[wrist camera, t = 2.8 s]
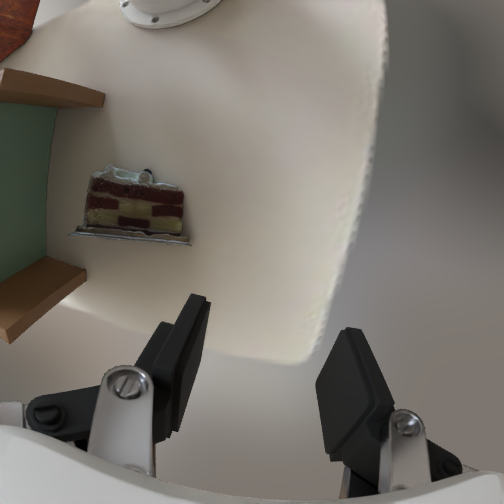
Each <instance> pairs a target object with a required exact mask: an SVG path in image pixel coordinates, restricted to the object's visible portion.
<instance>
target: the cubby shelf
mask: <svg viewBox="0 0 504 504" xmlns="http://www.w3.org/2000/svg"><path fill="white" fill-rule="evenodd" d="M104 98H105V93H102V92H99V91H96V90H93V89H90V88H86V87H83V86H80V85H76V84H73V83H69V82H65V81H62V80H58V79H54V78H50V77H46V76H42V75H38V74H33V73H29V72H24V71H19V70H14V69H9V68H4V69H1V70H0V338H1V339H3V340H4V341H5V342H7V343H8V344H11V343H12V342H13V341H14V340H16V339H17V338H18V337H19V336H20V335H21V334H22V333H23V332H25V330H27V329H28V328H29V327H30V326H31V325H32V324H34V323H35V322H36V321H37V320H38V319H39V318H41V317H42V316H43V315H44V314H45V313H46V312H48V311H49V310H50V309H51V308H52V307H54V306H55V305H56V304H58V303H59V302H60V301H61V300H62V299H64V298H65V297H66V296H67V295H69V294H70V293H71V292H72V291H74V290H75V289H76V288H78V287H79V286H80V285H81V284H83V283H84V282H85V281H86V270H85V269H82V268H79V267H76V266H74V265H71V264H68V263H65V262H62V261H60V260H57V259H54V258H52V257H49V256H46V190H47V176H48V166H49V157H50V149H51V142H52V136H53V130H54V125H55V119H56V114H57V110H58V108H75V107H102V106H103V102H104Z"/></svg>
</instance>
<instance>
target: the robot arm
mask: <svg viewBox="0 0 504 504" xmlns="http://www.w3.org/2000/svg"><path fill="white" fill-rule="evenodd" d="M220 1H221V0H120V10H121V12H122V15H123V16H124V17H125V18H126V19H127V20H128V21H129V22H131V23H132V24H133V25H136V26H138V27H141V28H147V29H161V28H168V27H173V26H176V25H180V24H183V23H186V22H188V21H191V20H193V19H195V18H197V17H199V16H201V15H203V14H204V13H206V12H207V11H209V10H210V9H212V8H213V7H214V6H215V5H216V4H218V3H219V2H220ZM210 306H211V302H208V301H206V297H204V296H200V295H196V294H192V293H191V295H190V296H189V298H188V300H187V302H186V304H185V305H184V307H183V309H182V311H181V313H180V315H179V316H178V318H177V320H176V322H175V324H174V325H173V324H170V323H166V322H163V321H162V322H161V323H160V324H159V325H158V327H157V329H156V330H155V332H154V334H153V335H152V337H151V338H150V340H149V342H148V344H147V345H146V347H145V348H144V350H143V352H142V353H141V355H140V357H139V358H138V360H137V362H136V363H135V365H134V366H131V365H120V366H115V367H113V368H111V369H109V370H108V371H107V372H106V373H105V374H104V376H103V378H102V381H101V385H98V386H94V387H88V388H83V389H78V390H72V391H67V392H61V393H55V394H48V395H42V396H39V397H36V398H35V399H34V400H31V402H30V403H29V404H23V402H22V401H0V504H504V475H503V474H501V473H498V472H490V471H479V470H476V469H473V468H471V467H468V466H466V465H463V466H462V464H461V462H460V461H459V459H458V458H457V457H456V456H455V455H453V454H452V453H450V452H448V451H446V450H445V449H443V448H441V447H440V446H438V445H436V444H435V443H433V442H431V441H430V440H428V439H426V433H425V427H424V424H423V421H422V420H421V418H420V417H419V416H418V415H417V414H415V413H414V412H412V411H409V410H406V409H398V410H395V409H394V406H393V405H394V404H395V402H394V400H393V398H392V395H391V393H390V391H389V388H388V386H387V384H386V381H385V379H384V377H383V375H382V373H381V370H380V368H379V366H378V364H377V361H376V359H375V357H374V355H373V353H372V351H371V348H370V346H369V344H368V342H367V340H366V338H365V336H364V334H363V332H362V330H361V329H356V328H350V327H347V328H346V329H345V330H341V331H340V333H339V335H338V337H337V340H336V341H335V344H334V346H333V348H332V350H331V352H330V354H329V356H328V358H327V360H326V362H325V364H324V366H323V368H322V370H321V372H320V374H319V376H318V378H317V381H316V393H317V399H318V406H319V412H320V418H321V425H322V432H323V439H324V446H325V452H326V453H327V454H329V455H330V461H331V462H333V461H343V463H344V465H345V468H344V473H343V479H342V485H341V491H340V496H339V499H336V500H335V499H334V500H314V501H313V500H311V501H294V500H293V501H292V500H290V501H289V500H270V499H257V498H248V497H239V496H231V495H225V494H219V493H213V492H208V491H203V490H198V489H194V488H189V487H185V486H181V485H177V484H174V483H170V482H167V481H163V480H160V479H157V478H156V443H159V442H162V441H164V440H165V439H166V437H167V438H170V436H171V433H172V431H176V432H178V431H179V428H180V425H181V422H182V418H183V415H184V412H185V409H186V406H187V402H188V399H189V396H190V393H191V390H192V387H193V383H194V380H195V377H196V374H197V371H198V368H199V365H200V361H201V356H202V351H203V345H204V339H205V333H206V328H207V322H208V317H209V311H210Z"/></svg>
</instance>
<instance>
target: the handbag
mask: <svg viewBox="0 0 504 504" xmlns="http://www.w3.org/2000/svg"><path fill="white" fill-rule="evenodd" d="M39 3H40V0H0V62H1V61H2V60H4V59H5V58H6V57H7V56H8V55H10V54H11V53H12V52H13V51H15V50H16V49H17V48H18V47H20V46H21V45H22V44H24V42H25V41H26V40H27V38H28V37H29V36H30V34H31V32H32V28H33V24H34V20H35V16H36V13H37V9H38V6H39Z"/></svg>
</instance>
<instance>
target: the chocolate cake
mask: <svg viewBox="0 0 504 504" xmlns="http://www.w3.org/2000/svg"><path fill="white" fill-rule="evenodd" d="M152 181H153V177H152V172H151V171H150V170H149V169H145V170H144V171H142V172H140V173H135V172H131V171H126V170H123V169H118V168H114V167H113V166H112V165H108V166H107V167H106V168H105V169H104V172H99V171H95V172H93V173H92V175H91V178H90V182H89V187H88V189H87V197H86V204H85V216H84V224H83V226H77V229H76V230H75V232H74V233H72V234H68V235H71V236H88V237H96V238H106V239H115V240H117V239H120V240H133V241H141V242H158V243H165V244H171V245H172V244H177V245H185V246H192V245H191V244H190V243H189V237H187V236H181V230H182V223H181V218H182V216H183V199H184V194H183V192H182V191H181V190H180V189H179V187H178V186H173V185H170V184H165V183H157V184H153V183H152Z"/></svg>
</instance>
